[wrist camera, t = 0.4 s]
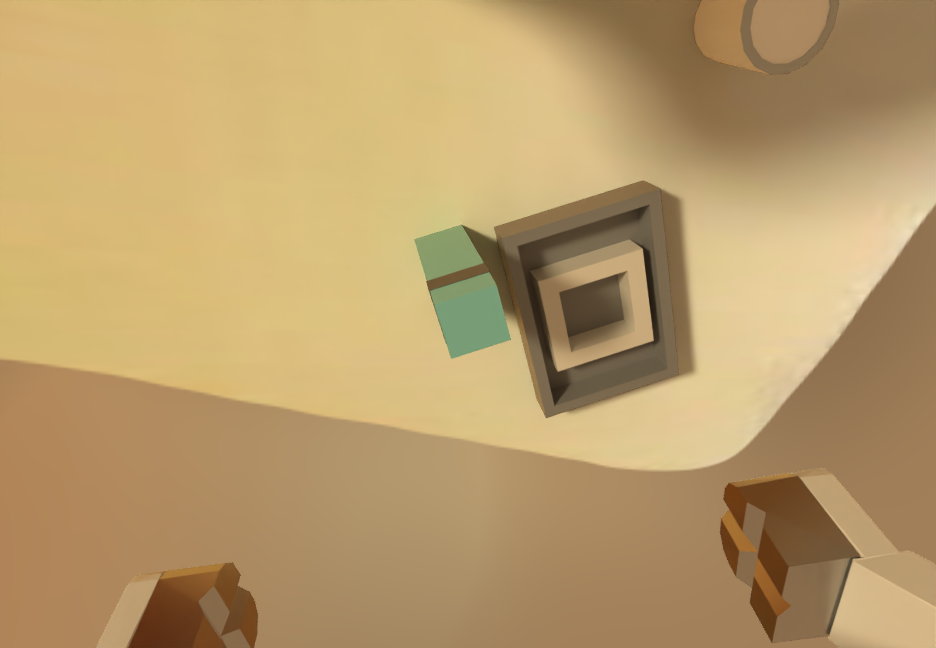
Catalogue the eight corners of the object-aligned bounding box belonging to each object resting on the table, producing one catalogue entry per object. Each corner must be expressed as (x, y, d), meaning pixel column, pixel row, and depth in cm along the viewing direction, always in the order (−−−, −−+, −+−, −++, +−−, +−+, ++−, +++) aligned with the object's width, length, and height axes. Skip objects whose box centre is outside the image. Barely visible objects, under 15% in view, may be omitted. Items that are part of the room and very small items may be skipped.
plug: (413, 239, 46) (433, 304, 35) (462, 224, 46) (497, 283, 35) (428, 283, 48) (450, 359, 37) (474, 269, 48) (511, 340, 37)
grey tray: (494, 227, 47) (502, 238, 44) (643, 180, 47) (660, 188, 45) (537, 400, 55) (546, 417, 53) (663, 358, 56) (678, 374, 53)
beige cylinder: (784, -23, 42) (858, -34, 36) (751, 77, 45) (813, 83, 39) (703, -43, 41) (765, -58, 35) (673, 62, 44) (726, 65, 38)
